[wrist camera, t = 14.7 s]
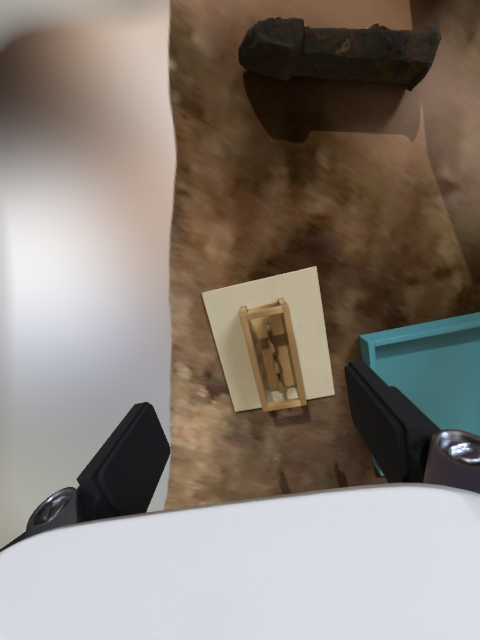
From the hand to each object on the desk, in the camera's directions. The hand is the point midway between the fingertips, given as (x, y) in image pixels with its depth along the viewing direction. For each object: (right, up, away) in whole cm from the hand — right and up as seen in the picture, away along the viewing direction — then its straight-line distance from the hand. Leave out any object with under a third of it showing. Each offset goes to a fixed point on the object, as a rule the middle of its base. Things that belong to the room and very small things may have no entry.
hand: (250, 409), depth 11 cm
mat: (+4, 0, +24) cm, 24 cm away
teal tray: (+29, -7, +25) cm, 39 cm away
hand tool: (+9, +31, +15) cm, 36 cm away
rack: (+4, 0, +23) cm, 24 cm away
